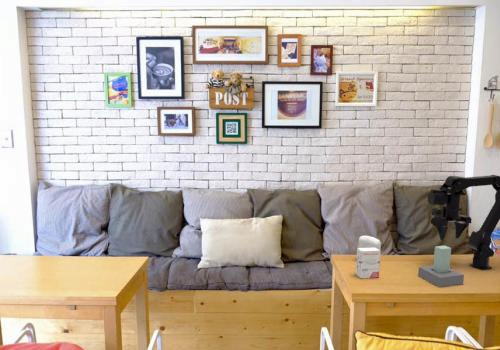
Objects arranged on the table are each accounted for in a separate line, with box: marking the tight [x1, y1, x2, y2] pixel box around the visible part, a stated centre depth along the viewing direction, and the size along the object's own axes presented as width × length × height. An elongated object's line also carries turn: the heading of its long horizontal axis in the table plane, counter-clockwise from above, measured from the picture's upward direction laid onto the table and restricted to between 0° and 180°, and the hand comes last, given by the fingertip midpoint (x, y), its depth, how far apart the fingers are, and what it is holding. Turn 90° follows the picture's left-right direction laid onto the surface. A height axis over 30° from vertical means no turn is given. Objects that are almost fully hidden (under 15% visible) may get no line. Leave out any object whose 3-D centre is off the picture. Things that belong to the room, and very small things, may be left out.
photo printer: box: [357, 235, 382, 251], centre depth 187 cm, size 10×4×12 cm, turn 45°
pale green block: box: [432, 245, 452, 274], centre depth 168 cm, size 5×4×13 cm
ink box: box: [355, 247, 381, 279], centre depth 171 cm, size 9×5×12 cm, turn 98°
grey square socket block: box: [417, 264, 465, 288], centre depth 169 cm, size 12×12×4 cm
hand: (449, 239), depth 182 cm, fingers open, 9 cm apart
